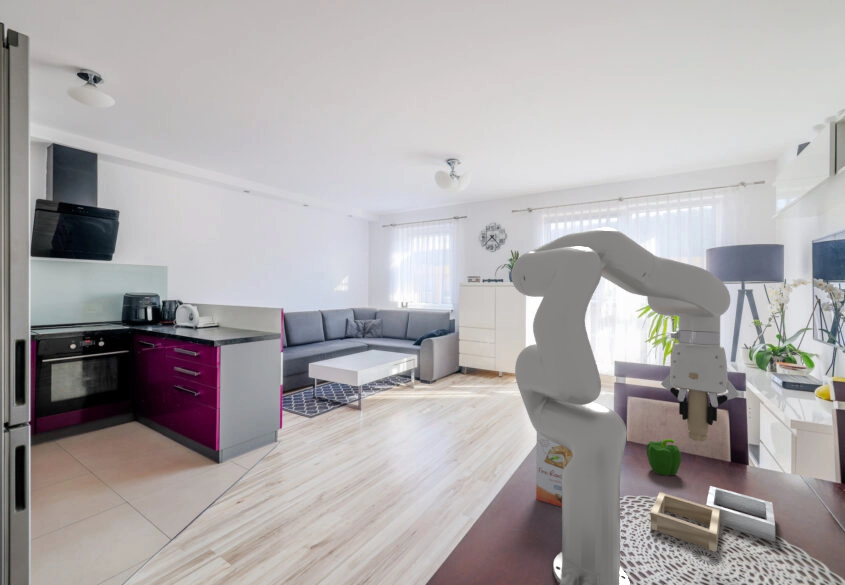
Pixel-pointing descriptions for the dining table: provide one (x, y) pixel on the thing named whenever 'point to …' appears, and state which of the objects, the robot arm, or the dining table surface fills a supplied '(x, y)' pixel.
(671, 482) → the dining table surface
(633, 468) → the dining table surface
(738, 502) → the socket block
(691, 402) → the handle
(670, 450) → the bell pepper
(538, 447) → the cracker box
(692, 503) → the frame
